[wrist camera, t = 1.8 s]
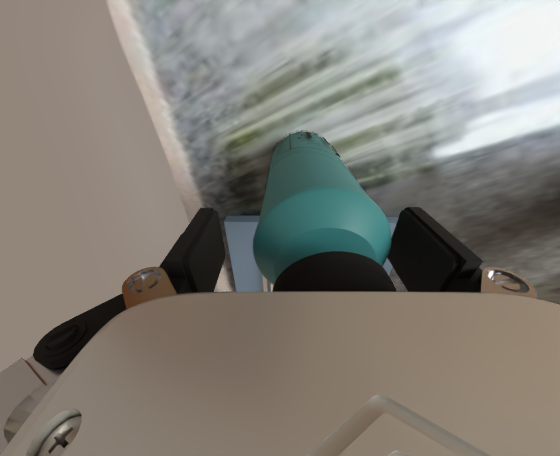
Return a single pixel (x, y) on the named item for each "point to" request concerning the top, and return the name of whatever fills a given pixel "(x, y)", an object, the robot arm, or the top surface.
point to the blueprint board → (243, 258)
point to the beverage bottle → (319, 223)
